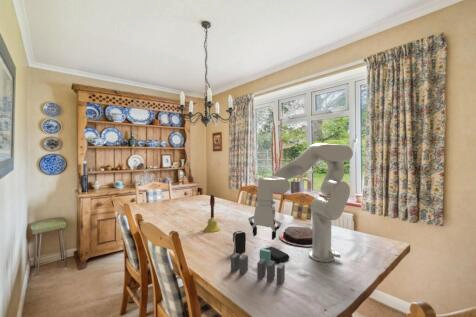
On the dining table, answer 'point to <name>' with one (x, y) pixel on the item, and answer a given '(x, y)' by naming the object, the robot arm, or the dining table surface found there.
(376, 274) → the dining table surface
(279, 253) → the carrying case or bag
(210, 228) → the handbell
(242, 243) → the battery charger
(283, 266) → the domino
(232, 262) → the domino
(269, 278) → the domino
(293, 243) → the chocolate cake
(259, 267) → the domino
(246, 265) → the domino
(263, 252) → the domino
